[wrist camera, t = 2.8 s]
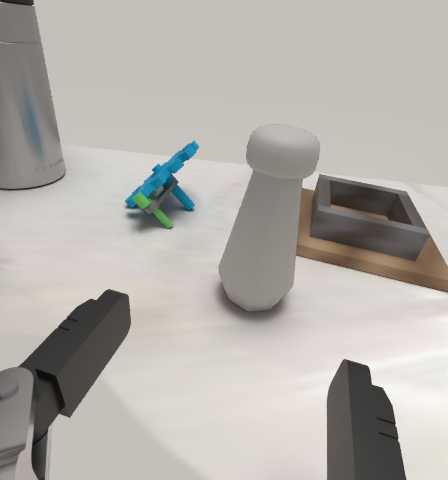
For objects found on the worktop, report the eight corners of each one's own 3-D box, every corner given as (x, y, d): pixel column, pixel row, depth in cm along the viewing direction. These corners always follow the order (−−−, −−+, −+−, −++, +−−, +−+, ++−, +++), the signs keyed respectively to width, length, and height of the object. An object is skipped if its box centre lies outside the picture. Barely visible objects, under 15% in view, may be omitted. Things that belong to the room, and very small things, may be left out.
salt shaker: (261, 334, 22) (309, 153, 14) (201, 293, 24) (216, 123, 17) (299, 293, 26) (352, 135, 18) (244, 261, 28) (271, 113, 21)
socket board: (275, 249, 31) (284, 212, 28) (289, 193, 42) (296, 164, 40) (449, 292, 28) (475, 255, 26) (413, 220, 39) (429, 190, 37)
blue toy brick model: (149, 168, 40) (202, 124, 34) (180, 202, 42) (235, 166, 36) (99, 217, 32) (157, 170, 26) (141, 256, 34) (203, 220, 28)
